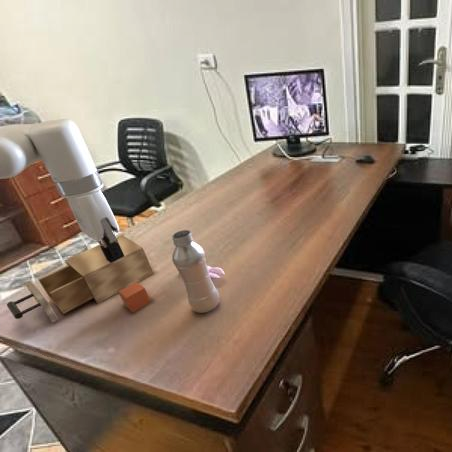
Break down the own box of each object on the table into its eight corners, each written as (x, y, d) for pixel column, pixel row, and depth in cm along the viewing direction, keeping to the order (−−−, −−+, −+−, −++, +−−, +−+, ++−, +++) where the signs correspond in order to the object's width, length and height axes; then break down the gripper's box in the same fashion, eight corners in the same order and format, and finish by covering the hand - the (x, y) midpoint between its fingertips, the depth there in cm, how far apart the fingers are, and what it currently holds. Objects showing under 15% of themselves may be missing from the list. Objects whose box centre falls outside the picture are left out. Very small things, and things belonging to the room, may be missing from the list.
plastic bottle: (223, 309, 81) (200, 236, 71) (193, 320, 79) (165, 246, 69) (218, 294, 86) (196, 223, 76) (190, 304, 84) (163, 232, 74)
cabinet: (97, 303, 87) (82, 276, 83) (79, 286, 94) (64, 260, 90) (153, 273, 97) (142, 247, 93) (133, 259, 104) (122, 234, 100)
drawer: (27, 336, 78) (11, 313, 74) (14, 315, 84) (-2, 294, 81) (112, 290, 90) (102, 269, 87) (95, 275, 96) (85, 255, 93)
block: (133, 312, 83) (126, 298, 81) (124, 305, 86) (118, 291, 83) (150, 301, 86) (144, 287, 84) (142, 295, 88) (136, 281, 86)
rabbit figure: (177, 283, 94) (215, 289, 86) (167, 264, 91) (206, 269, 84) (194, 270, 99) (232, 274, 91) (186, 252, 96) (224, 255, 88)
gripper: (46, 184, 72) (85, 257, 81) (72, 198, 64) (112, 278, 73) (86, 171, 77) (118, 242, 86) (114, 183, 68) (147, 260, 77)
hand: (116, 258), depth 79 cm, fingers closed
